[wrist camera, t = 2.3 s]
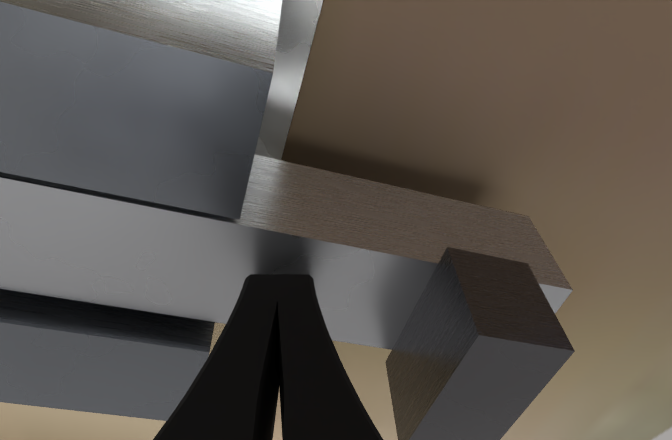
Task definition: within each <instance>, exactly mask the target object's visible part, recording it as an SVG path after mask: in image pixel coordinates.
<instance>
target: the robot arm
mask: <svg viewBox="0 0 672 440" xmlns="http://www.w3.org/2000/svg"><path fill="white" fill-rule="evenodd" d="M279 386H280V403H281V420H282V437H283V440H383V439H382V437H381V435H380V434H379V432H378V430H377V429H376V427H375V425H374V424H373V422H372V420H371V419H370V417H369V415H368V413H367V412H366V410H365V408H364V406H363V404H362V403H361V401H360V399H359V397H358V395H357V393H356V391H355V389H354V387H353V385H352V383H351V381H350V379H349V377H348V375H347V373H346V371H345V369H344V367H343V365H342V363H341V361H340V358H339V356H338V354H337V351H336V349H335V347H334V344H333V342H332V339H331V337H330V335H329V332H328V329H327V327H326V324H325V321H324V318H323V315H322V312H321V309H320V306H319V303H318V299H317V295H316V291H315V286H314V279H313V278H312V277H311V276H310V275H309V274H250V275H249V276H248V277H246V278H245V281H244V284H243V287H242V290H241V292H240V295H239V297H238V300H237V302H236V304H235V307H234V309H233V311H232V313H231V315H230V317H229V319H228V321H227V323H226V325H225V327H224V329H223V331H222V333H221V335H220V337H219V338H218V340H217V342H216V344H215V346H214V348H213V350H212V351H211V353H210V355H209V357H208V358H207V360H206V362H205V363H204V365H203V367H202V368H201V370H200V371H199V373H198V375H197V376H196V378H195V380H194V381H193V383H192V384H191V386H190V388H189V389H188V391H187V392H186V394H185V395H184V397H183V398H182V400H181V401H180V403H179V404H178V406H177V407H176V409H175V410H174V412H173V413H172V414H171V416H170V417H169V419H168V420H167V421H166V423H165V424H164V425H163V427H162V428H161V430H160V431H159V432H158V434H157V435H156V436H155V438H154V439H153V440H272V438H273V431H274V423H275V415H276V408H277V400H278V392H279Z"/></svg>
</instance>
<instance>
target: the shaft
mask: <svg viewBox="0 0 672 440" xmlns="http://www.w3.org/2000/svg"><path fill="white" fill-rule="evenodd" d="M250 274H309V275H310V276H311V277H312V278H313V279H314V286H315V291H316V295H317V299H318V303H319V306H320V309H321V312H322V315H323V318H324V321H325V324H326V327H327V329H328V332H329V335H330V337H331V339H332V340H334V341H340V342H347V343H353V344H359V345H366V346H372V347H379V348H385V349H392V351H391V353H390V355H389V356H388V358H387V360H386V367H387V374H388V380H389V386H390V392H391V399H392V405H393V411H394V417H395V423H396V430H397V436H398V440H500V439H501V438H502V437H503V435H504V434H505V433H506V432H507V431H508V430H509V428H510V427H511V426H512V425H513V424H514V422H515V421H516V420H517V419H518V418H519V416H520V415H521V414H522V413H523V412H524V411H525V409H526V408H527V407H528V406H529V405H530V403H531V402H532V401H533V400H534V399H535V398H536V396H537V395H538V394H539V393H540V392H541V390H542V389H543V388H544V387H545V386H546V384H547V383H548V382H549V381H550V380H551V379H552V377H553V376H554V375H555V374H556V373H557V371H558V370H559V369H560V368H561V367H562V366H563V364H564V363H565V362H566V361H567V360H568V358H569V357H570V356H571V355H572V354H573V352H574V349H573V347H572V345H571V343H570V342H569V340H568V338H567V336H566V334H565V332H564V330H563V328H562V327H561V325H560V323H559V321H558V319H557V317H556V315H555V313H556V312H557V310H558V309H559V308H560V306H561V305H562V304H563V302H564V301H565V300H566V298H567V297H568V296H569V295H570V293H571V292H572V291H573V289H572V288H571V286H570V284H569V283H568V281H567V280H566V278H565V276H564V275H563V273H562V271H561V270H560V268H559V266H558V265H557V263H556V261H555V260H554V258H553V256H552V255H551V253H550V251H549V250H548V248H547V246H546V245H545V243H544V241H543V240H542V238H541V236H540V235H539V233H538V231H537V230H536V228H535V226H534V225H533V223H532V221H531V220H530V218H529V216H525V215H521V214H516V213H512V212H507V211H503V210H499V209H494V208H490V207H485V206H481V205H476V204H472V203H468V202H463V201H459V200H454V199H450V198H446V197H441V196H437V195H432V194H428V193H424V192H419V191H415V190H410V189H406V188H401V187H397V186H393V185H388V184H384V183H379V182H375V181H371V180H366V179H362V178H357V177H353V176H348V175H344V174H340V173H335V172H331V171H326V170H322V169H318V168H313V167H309V166H304V165H300V164H296V163H291V162H287V161H282V160H278V159H273V158H269V157H265V156H260V155H256V154H255V155H254V159H253V164H252V168H251V172H250V177H249V181H248V185H247V190H246V194H245V198H244V203H243V207H242V212H241V216H240V219H234V218H229V217H224V216H219V215H214V214H209V213H204V212H199V211H194V210H189V209H184V208H179V207H174V206H169V205H164V204H159V203H154V202H149V201H144V200H139V199H134V198H129V197H124V196H119V195H114V194H109V193H104V192H99V191H94V190H89V189H84V188H78V187H73V186H68V185H63V184H58V183H53V182H48V181H43V180H38V179H33V178H28V177H23V176H18V175H13V174H8V173H3V172H0V289H6V290H12V291H18V292H25V293H31V294H38V295H44V296H51V297H57V298H63V299H70V300H76V301H83V302H89V303H96V304H102V305H109V306H115V307H121V308H128V309H134V310H141V311H147V312H154V313H160V314H166V315H173V316H179V317H186V318H192V319H199V320H205V321H211V322H218V323H224V324H226V323H227V321H228V319H229V317H230V315H231V313H232V311H233V309H234V307H235V304H236V302H237V300H238V297H239V295H240V292H241V290H242V287H243V284H244V281H245V278H246V277H248V276H249V275H250Z"/></svg>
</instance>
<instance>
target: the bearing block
mask: <svg viewBox="0 0 672 440" xmlns="http://www.w3.org/2000/svg"><path fill="white" fill-rule="evenodd" d="M322 3H323V0H0V172H3V173H8V174H13V175H18V176H23V177H28V178H33V179H38V180H43V181H48V182H53V183H58V184H63V185H68V186H73V187H78V188H84V189H89V190H94V191H99V192H104V193H109V194H114V195H119V196H124V197H129V198H134V199H139V200H144V201H149V202H154V203H159V204H164V205H169V206H174V207H179V208H184V209H189V210H194V211H199V212H204V213H209V214H214V215H219V216H224V217H229V218H234V219H240V216H241V212H242V207H243V203H244V198H245V194H246V190H247V185H248V181H249V177H250V172H251V168H252V164H253V159H254V155H255V154H256V155H260V156H265V157H269V158H273V159H278V160H281V158H282V154H283V151H284V147H285V143H286V139H287V135H288V132H289V128H290V124H291V120H292V117H293V113H294V109H295V105H296V101H297V98H298V94H299V90H300V86H301V82H302V79H303V75H304V71H305V67H306V64H307V60H308V56H309V52H310V48H311V45H312V41H313V37H314V33H315V29H316V26H317V22H318V18H319V14H320V11H321V7H322ZM214 323H215V322H211V321H205V320H199V319H192V318H186V317H179V316H173V315H166V314H160V313H154V312H147V311H141V310H134V309H128V308H121V307H115V306H109V305H102V304H96V303H89V302H83V301H76V300H70V299H63V298H57V297H51V296H44V295H38V294H31V293H25V292H18V291H12V290H6V289H0V402H5V403H14V404H23V405H31V406H40V407H49V408H58V409H67V410H75V411H84V412H93V413H102V414H111V415H119V416H128V417H137V418H146V419H155V420H164V421H167V420H168V419H169V417H170V416H171V414H172V413H173V412H174V410H175V409H176V407H177V406H178V404H179V403H180V401H181V400H182V398H183V397H184V395H185V394H186V392H187V391H188V389H189V388H190V386H191V384H192V383H193V381H194V380H195V378H196V376H197V375H198V373H199V371H200V370H201V368H202V367H203V365H204V363H205V362H206V360H207V358H208V356H209V351H210V346H211V340H212V334H213V329H214Z"/></svg>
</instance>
